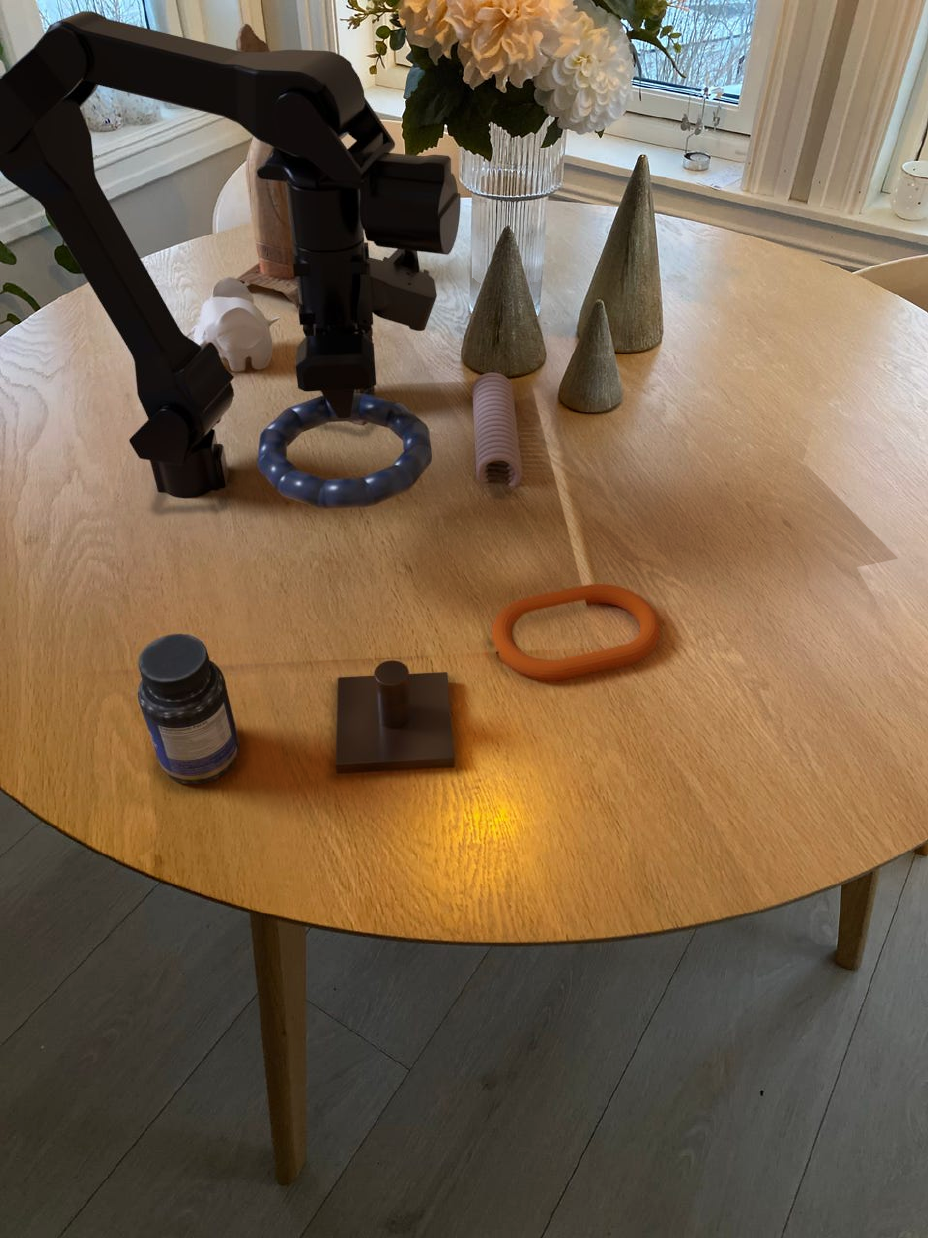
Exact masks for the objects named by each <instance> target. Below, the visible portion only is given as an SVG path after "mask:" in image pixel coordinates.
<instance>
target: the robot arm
mask: <svg viewBox="0 0 928 1238" xmlns="http://www.w3.org/2000/svg"><path fill="white" fill-rule="evenodd" d="M99 86H100V87H105V88H108V89H113V90H117V91H120V92H124V93H128V94H133V95H136V96H139V97H142V98H143V97H144V98H148V99H152V100H155V101H160V102H162V103H163V102H164V103H168V104H172V105H176V106H180V107H183V108H187V109H191V110H195V111H199V112H203V113H206V114H207V113H208V114H211V115H215V116H219V117H223V118H226V119H227V120H230V121H232V122H234V123H236V124H238V125H240V126H241V127H242V128H243V129H244V130H246V131H247V132H248V133H249V134H250V135H252V137H255V138H256V139H258V140H259V141H261V142H264V143H266V144H268V145H270V146H272V147H274V148H273V151H272V153H271V155H270V157H269V158H268V160H267V161H266V162H265V163H264V164H263V165H262V166H261V167H260V168H259V169H258V170H257V176H258V177H259V178H260V179H265V180H274V181H283V182H285V183H286V192H287V200H288V209H289V217H290V226H291V234H292V243H293V252H294V253H293V271H294V276H296V277H297V278H296V279H297V286H298V294H299V306H298V319H299V325H300V326H302V331H303V334H304V336H305V337H304V338H303V339H302V340H301V341H300V342H299V344H298V345H296V350H295V375H296V383H297V384H296V385H297V388H298V389H299V390H301V391H303V392H320V393H321V394H322V396H324V397H325V399H326V400H327V402H328V403H329V405H330V406H331V408H332V409H333V411H334V413H335V414H336V416H337V417H338V418H349V417H350V414H351V408H352V402H353V395H354V389H370V388H372V387H373V386H374V387H375V386H376V385H377V373H376V372H377V370H376V357H375V355H376V354H375V343H374V342H373V341H372V342H371V341H370V340H369V339H368V338H367V337H365V335H366V334H367V333H368V332H369V331H370V330H371V328H372V329H373V326H374V315H375V316H376V317H378V318H381V319H383V320H386V321H390V322H393V323H397V324H400V325H403V326H407V327H408V328H409V329H410V330H411V331H412V330H413V331H416V332H423V331H425V330H426V327H427V325H428V322H429V319H430V316H431V314H432V311H433V308H434V306H435V302H436V301H437V297H438V293H437V287H436V283H435V279H434V278H433V276H431V274H430V272H429V270H428V269H425V268H424V269H423V271H422V270H421V268H420V267H421V266H420V262H419V256H418V252H420V253H430V254H438V255H446V256H448V255H449V254H451V252H452V250H453V248H454V246H455V243H456V240H457V236H458V231H459V226H460V218H461V206H462V205H461V201H462V200H461V199H462V198H461V192H460V193H459V190H458V183H457V179H456V177H455V175H454V173H453V172H452V158H451V157H450V156H449V155H444V154H429V155H415V154H404V153H396V152H395V153H394V152H392V151H393V150H394V149H395V148H396V142H395V140H394V139H393V136H391V134H390V133H389V131H388V130H387V128H386V126H385V125H384V124H383V122H382V121H381V119H380V118H379V116H378V115H377V114H376V112H375V110H374V108H373V107H372V106H371V104H370V103H369V101H368V100H367V98H366V97H365V89H364V87H363V83H362V80H361V78H360V77H359V74H358V73H357V72H356V70H355V69H354V67H353V64H352V62H351V61H350V60H348V59H347V58H345V57H344V56H343V55H341V54H339V53H337V52H334V51H329V50H315V49H314V50H313V49H311V50H309V49H281V50H280V49H279V50H270V51H269V52H257V53H256V52H240V51H236V49H232V48H227V47H223V46H220V45H215V44H211V43H208V42H203V41H199V40H195V39H191V38H187V37H183V36H179V35H175V34H171V33H166V32H163V31H158V30H154V29H151V28H146V27H143V26H138V25H134V24H129V23H125V22H122V21H118V20H115V19H114V20H113V19H110V18H107V17H106V16H104V15H103V14H100V13H98V12H94V11H92V10H91V11H90V10H83V11H80V12H77V13H75V14H73V15H70V16H67V17H65V18H62V19H60V20H58V21H56V22H54V23H52V24H50V25H49V26H48V28H47V30H46V31H45V33H44V34H43V35H42V36H41V38H40V39H39V40H38V41H37V43H36V44H35V45H34V46H33V47H32V48H31V49H30V50H29V51H28V52H27V53H26V54H24V55H23V56H22V57H21V58H20V59H19V60H18V61H16V62H15V63H14V64H13V65H12V66H11V67H10V68H9V69H8V70H7V71H5V72H4V73H3V74H2V75H0V173H1V174H2V176H3V177H4V178H5V179H6V180H7V181H9V182H10V183H11V184H13V185H14V186H16V187H17V188H19V189H20V190H21V191H23V192H24V193H26V194H27V195H29V196H30V197H32V198H33V199H35V200H36V201H37V202H39V204H41V206H42V207H43V209H44V210H45V212H46V214H47V215H48V217H49V218H50V220H51V222H52V224H53V226H54V227H55V229H56V230H57V232H58V234H59V235H60V237H61V239H62V240H63V242H64V244H65V246H66V248H67V249H68V250H69V252H70V254H71V255H72V257H73V259H74V261H75V262H76V264H77V265H78V267H79V269H80V271H81V273H83V276H84V278H85V279H86V280H87V282H88V284H89V286H90V287H91V290H92V291H93V293H94V294H95V296H96V298H97V299H98V301H99V303H100V304H101V306H102V308H103V309H104V311H105V312H106V314H107V316H108V318H109V319H110V321H111V322H112V324H113V326H114V328H115V329H116V331H117V332H118V334H119V336H120V337H121V340H122V341H123V343H124V344H125V346H126V347H127V349H128V351H129V352H130V355H131V356H132V358H133V362H134V371H135V383H136V393H137V398H138V399H139V401H140V404H141V407H142V408H143V410H144V413H145V415H146V417H147V420H146V421H145V422H144V424H142V425H141V426H140V428H138V429H137V431H136V432H135V433H134V434H133V435H132V436H131V437H130V438H129V440H128V441H129V444H130V445H131V447H132V448H133V451H134V452H135V453H136V456H137V457H138V458H139V459H141V460H145V461H146V460H147V461H149V462H150V466H151V471H152V474H153V478H154V483H155V486H156V490H157V492H158V493H166V494H167V495H168V496H171V497H174V498H178V499H193V498H199V497H201V496H204V495H206V494H209V493H210V492H214V491H219V490H221V489H226V488H227V486H228V479H229V475H230V474H229V468H228V463H227V462H228V461H227V458H226V457H227V456H226V452H225V445H224V444H222V443H218V440H217V434H216V430H215V429H214V427H216V425H217V424H220V422H221V421H222V417H223V416H224V415H225V414H226V412H227V411H228V410H229V409H230V408H231V407H232V404H233V399H234V397H235V391H234V388H233V385H232V381H233V380H234V379H235V376H234V375H233V374H232V373H231V371H229V370H228V369H227V367H226V366H225V364H224V363H223V361H222V358H221V356H220V355H221V354H220V353H218V350H217V348H216V347H215V345H214V344H213V343H211V342H209V343H207V344H205V345H203V346H200V345H198V344H197V343H195V342H194V340H193V339H191V338H190V337H186V335H185V334H184V333H183V332H182V331H181V329H180V327H179V325H178V324H177V322H176V320H175V318H174V317H173V315H172V312H171V311H170V309H169V308H168V305H167V304H166V302H165V301H164V299H163V296H162V295H161V293H160V291H159V290H158V287H157V286H156V284H155V283H154V280H153V278H152V276H151V275H150V273H149V271H148V270H147V268H146V266H145V264H144V263H143V260H142V259H141V257H140V255H139V253H138V252H137V250H136V248H135V246H134V245H133V243H132V241H131V239H130V238H129V236H128V234H127V231H126V230H125V228H124V226H123V224H122V223H121V221H120V220H119V218H118V216H117V214H116V212H115V210H114V209H113V206H112V205H111V203H110V201H109V199H108V198H107V196H106V194H105V192H104V190H103V189H102V187H101V185H100V183H99V181H98V179H97V177H96V173H95V162H94V151H93V141H92V134H91V131H90V129H89V126H88V124H87V122H86V119H85V117H84V114H83V112H82V109H81V107H82V106H83V105H84V104H85V103H86V102H87V101H88V100H89V99H90V98H91V96H92V95H94V94H95V92H96V90H97V89H98V87H99ZM347 135H349V136H350V137H351V138H353V139H354V140H355V142H354V143H352V144H351V145H350V146H349V147H348V148H347V146H346V145H345V143H344V142H343V139H344V138H345V137H346V136H347ZM365 238H366V239H365ZM365 240H366V242H365ZM369 242H373V243H374V245H375V246H377V247H379V248H388V249H396V250H395V251H394V252H393V253H392V254H391V255H390V256H389V257H386V256H383V257H382V259H378V258H373V257H371V256H370V249H369Z"/></svg>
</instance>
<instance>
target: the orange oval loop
mask: <svg viewBox="0 0 928 1238" xmlns="http://www.w3.org/2000/svg"><path fill="white" fill-rule="evenodd" d="M583 600H585V605H591V604H607V605H613V606H616V607H619V608H621V609H623V610H625V611H626V612H628V613H630V614H631V615H632V616H633V617H634V618H635V619H636V621H637V623H638V625H639V632H638V635H637V636H636V638H635V639H633V640H631V641H630V642H628V643H624V644H621V645H618V646H613V647H609V648H605V649H599V650H596V651H591V652H586V653H582V654H578V655H573V656H569V657H568V656H567V657H564V658H563V657H562V658H559V659H543V658H537V657H534V656H531V655H529V654H527V653H525V652H523V651H522V650H520V649H519V648H518V647H517V646H516V644H515V643H514V642H513V639H512V636H511V635H512V634H511V632H512V631H511V630H512V627H513V624H514V623H515V622H516V620H517V619H518V618H519V617H521V616H522V615H524V614H526V613H529V612H532V611H536V610H540V609H546V608H549V607H554V606H558V605H563V604H568V603H574V602H578V601H583ZM660 631H661V629H660V621H659V618H658V615H657V613H656V612H655V609H653V607H652V606H651V605H650V604H649V602H648V601H647V600H645V599H644V598H643V597H642V596H640V595H639V594H637V593H635V592H634V591H632V590H629V589H627V588H625V587H621V586H618V585H613V584H607V583H606V584H605V583H593V584H586V585H581V586H576V587H570V588H566V589H561V590H556V591H550V592H547V593H541V594H537V595H536V594H535V595H532V596H528V597H523V598H520V599H518V600H515V601H513V602H512V603H510V604H508V605H507V606H506V607H504V608H503V609H502V610H501V611H500V612H499V613H498V615H497V616H496V617H495V619H494V622H493V625H492V628H491V637H492V642H493V645H494V646H495V648H496V651H495V654H496V655H497V657H498V658H499V659H500V661H502V663H503V664H504V665H506V666H507V667H508V668H510V669H511V670H512V671H514V672H516V673H517V674H520V675H522V676H525V677H527V678H531V679H534V680H538V681H539V680H540V681H561V680H566V679H571V678H576V677H581V676H584V675H588V674H594V673H599V672H602V671H606V670H611V669H615V668H619V667H623V666H627V665H631V664H634V663H636V662H638V661H640V660H642V659H644V658H645V657H647V656H648V655H649V654H651V652H652V651H653V649H654V648H655V647H656V645H657V643H658V641H659V638H660V634H661V633H660Z"/></svg>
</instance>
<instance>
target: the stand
mask: <svg viewBox="0 0 928 1238" xmlns="http://www.w3.org/2000/svg"><path fill="white" fill-rule="evenodd" d="M373 674H374V675H359V676H339V677H337V692H336V693H337V695H336V696H337V698H336V699H337V702H336V736H335V737H336V738H335V740H336V741H335V769H336V774H337V775H341V774H357V773H376V772H377V773H379V772H393V771H394V772H395V771H411V770H412V771H413V770H431V769H447V768H448V769H449V768H451V769H452V768H455V767H456V756H455V755H456V753H455V743H454V742H455V741H454V732H453V721H452V710H451V699H450V698H451V697H450V687H449V677H448V675H449V674H448V671H442V672H421V673H410V672H409V668H408V666H407V665H406V664H405V663H404V662H402V661H399V660H392V659H391V660H385V661H383V662H381V663H379V664H378V665H377V666H376V668H375V669H374V672H373Z"/></svg>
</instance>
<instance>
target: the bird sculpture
mask: <svg viewBox="0 0 928 1238" xmlns="http://www.w3.org/2000/svg"><path fill="white" fill-rule="evenodd" d="M235 50H236V51H240V52H256V53H257V52H269V51H271V50H270V48H269V46H268V44H267V42H265V41H264V40H262V39H260V37H259V36H257V35H256V33H255V31H254V29H253V28H252V26H251V25H250V24H248V23H243V25H242V26H241V27H240V29H238V31H237V37H236V40H235ZM273 148H274V147H272V146H270V145H268V144H266V143H264V142H261V141H259V140H258V139H256V138H255V137H254V136H252V140H251V143H250V145H249V149H248V153H247V156H246V162H245V179H246V181H245V182H246V188H247V195H248V201H249V208H250V214H251V223H252V229H253V234H254V235H253V236H254V240H255V247H256V252H257V256H258V257H257V259H258V262H257V264H255V265H254V266H252V267H251V268H249V269H248V270H246V271H245V272H243V273H242V274H241V275H239V276H238V277H237V278H235V279H237V280H239V281H240V282H241V283H243V284H244V285H245V283H249V284H253V285H256V286H259V287H263V288H267V289H272V290H274V291H277V292H281V293H283V294H284V295H285V296H286V297H287V299H289V300H290V301H291V302H292V303H293V304H294V306H295V308H296V309H297V310H299V294H298V286H297V277H296V276H294V271H293V253H294V252H293V243H292V234H291V226H290V217H289V209H288V200H287V192H286V183H285V182H283V181H274V180H265V179H260V178H259V177H258V176H257V170H258V169H259V168H260V167H261V166H262V165H263V164H264V163H265V162H266V161H267V160H268V158H269V157H270V155H271V153H272V151H273Z"/></svg>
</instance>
